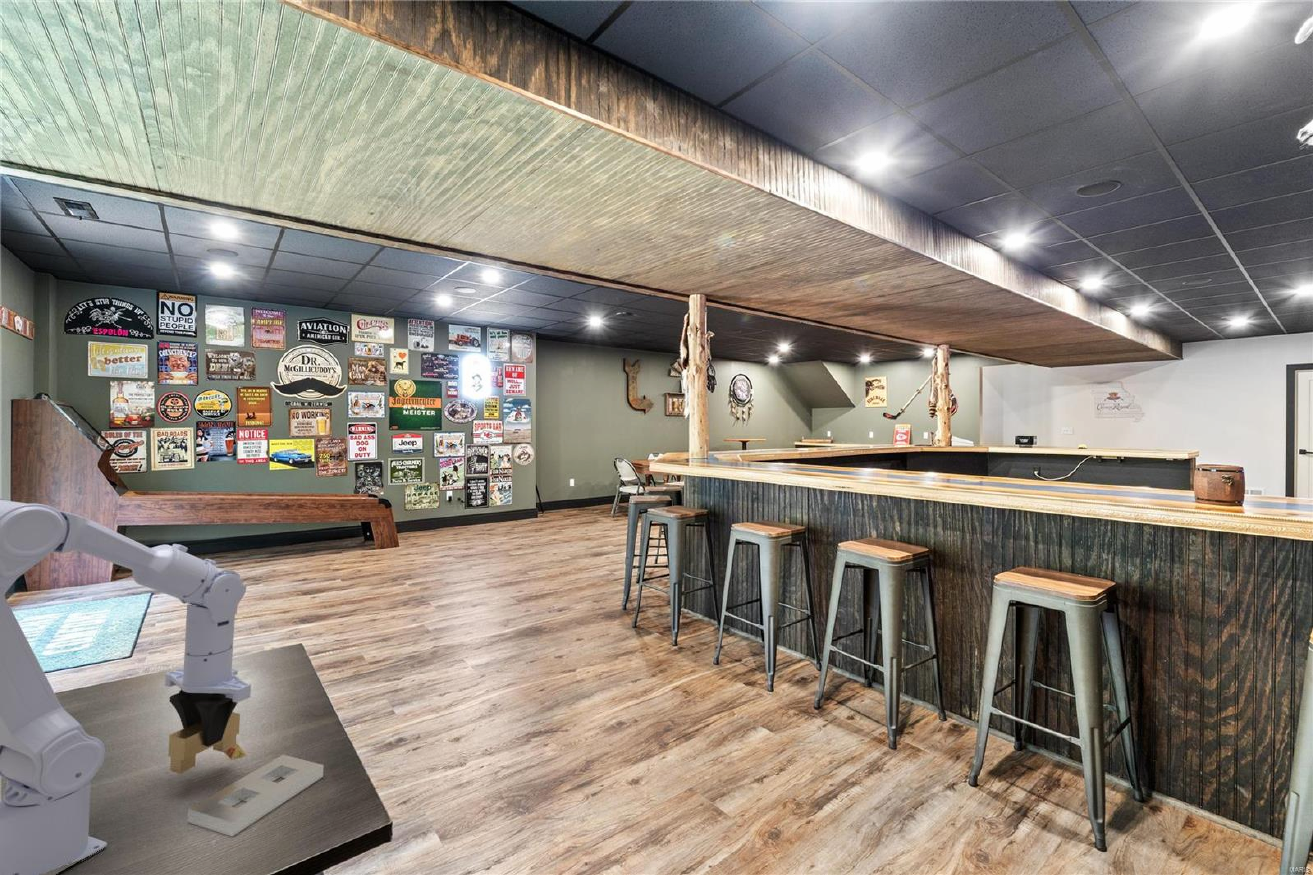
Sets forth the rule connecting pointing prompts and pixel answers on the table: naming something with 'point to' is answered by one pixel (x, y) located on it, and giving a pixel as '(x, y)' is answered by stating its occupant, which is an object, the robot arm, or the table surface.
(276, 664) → the table surface
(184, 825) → the table surface
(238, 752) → the chocolate bar
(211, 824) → the white slotted holder
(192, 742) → the stepped wooden block
